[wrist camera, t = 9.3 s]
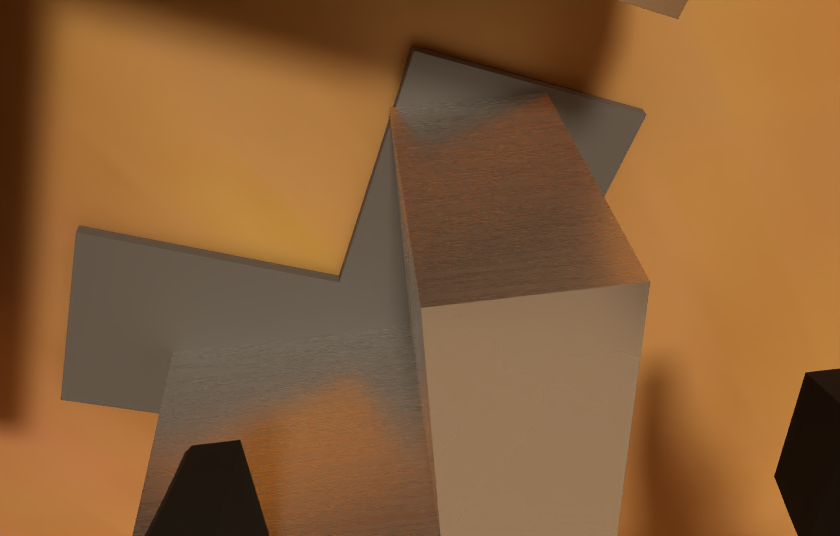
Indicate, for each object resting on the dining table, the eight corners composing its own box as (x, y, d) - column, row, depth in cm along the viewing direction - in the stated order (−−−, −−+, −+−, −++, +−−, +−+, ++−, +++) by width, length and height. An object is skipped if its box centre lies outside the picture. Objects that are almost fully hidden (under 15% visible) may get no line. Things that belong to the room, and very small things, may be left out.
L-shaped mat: (642, 109, 13) (646, 115, 13) (469, 450, 18) (470, 457, 18) (103, -40, 11) (100, -35, 11) (63, 392, 16) (60, 399, 16)
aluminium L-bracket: (537, 401, 17) (604, 626, 13) (203, 441, 17) (166, 684, 13) (545, 91, 13) (650, 281, 9) (99, 138, 12) (-6, 356, 8)
